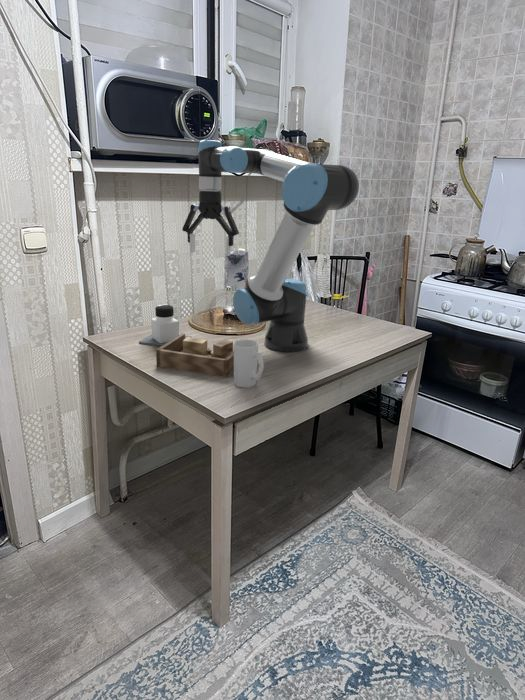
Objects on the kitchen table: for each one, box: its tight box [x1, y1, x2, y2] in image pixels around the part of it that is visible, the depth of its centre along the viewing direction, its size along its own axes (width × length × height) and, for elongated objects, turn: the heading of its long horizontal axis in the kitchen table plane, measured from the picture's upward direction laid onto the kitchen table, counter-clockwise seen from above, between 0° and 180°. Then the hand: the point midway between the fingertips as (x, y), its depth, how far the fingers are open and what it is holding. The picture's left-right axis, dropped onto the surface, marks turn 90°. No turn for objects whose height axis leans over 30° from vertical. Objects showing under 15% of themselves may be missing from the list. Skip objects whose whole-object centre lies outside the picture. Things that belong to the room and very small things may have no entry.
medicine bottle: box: [150, 304, 180, 343], centre depth 164 cm, size 7×7×12 cm
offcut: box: [182, 337, 208, 356], centre depth 154 cm, size 7×4×5 cm, turn 73°
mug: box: [233, 339, 264, 389], centre depth 132 cm, size 10×7×12 cm, turn 46°
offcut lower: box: [210, 348, 234, 359], centre depth 151 cm, size 8×4×3 cm, turn 88°
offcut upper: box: [212, 339, 234, 356], centre depth 150 cm, size 6×3×3 cm, turn 146°
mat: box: [138, 333, 193, 348], centre depth 166 cm, size 14×12×1 cm
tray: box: [155, 333, 234, 378], centre depth 148 cm, size 23×17×5 cm
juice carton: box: [223, 248, 249, 291], centre depth 197 cm, size 9×10×27 cm
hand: (210, 253), depth 168 cm, fingers open, 13 cm apart
